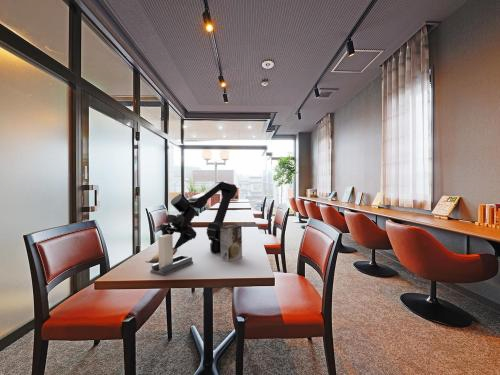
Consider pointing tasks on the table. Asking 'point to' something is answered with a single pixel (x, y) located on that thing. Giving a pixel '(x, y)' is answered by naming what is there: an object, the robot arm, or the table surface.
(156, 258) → the parchment
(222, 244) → the coffee box
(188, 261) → the grey rectangular tray
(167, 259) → the cream rectangular block
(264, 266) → the table surface
